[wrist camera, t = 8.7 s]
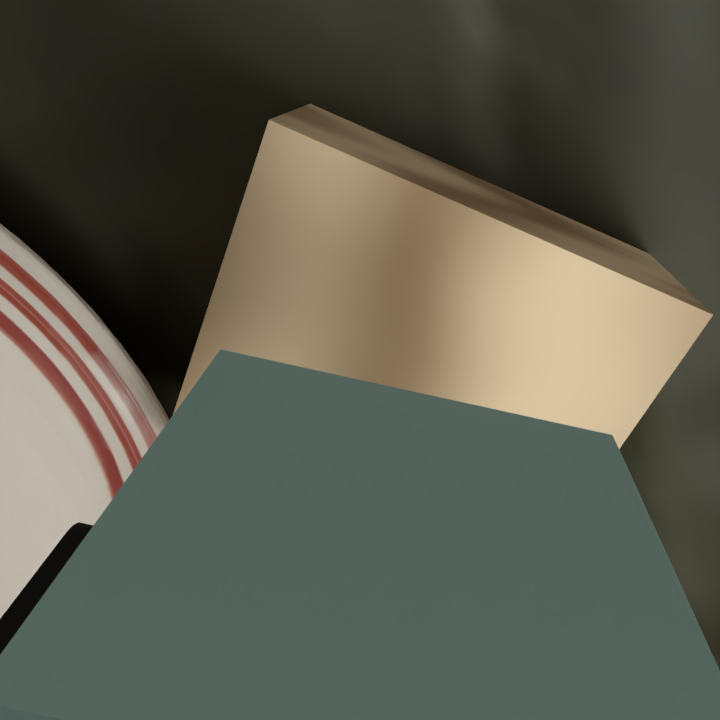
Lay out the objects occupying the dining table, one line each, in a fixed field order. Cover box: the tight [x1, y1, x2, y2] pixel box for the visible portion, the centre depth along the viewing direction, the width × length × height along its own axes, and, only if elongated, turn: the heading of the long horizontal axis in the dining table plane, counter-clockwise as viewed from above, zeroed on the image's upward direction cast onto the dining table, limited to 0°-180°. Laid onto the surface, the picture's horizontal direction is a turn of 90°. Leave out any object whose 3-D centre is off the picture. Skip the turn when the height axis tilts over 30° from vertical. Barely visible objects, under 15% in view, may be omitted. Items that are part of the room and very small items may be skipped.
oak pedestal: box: [173, 104, 713, 449], centre depth 18 cm, size 10×10×5 cm
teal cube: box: [0, 349, 720, 720], centre depth 9 cm, size 6×6×6 cm
